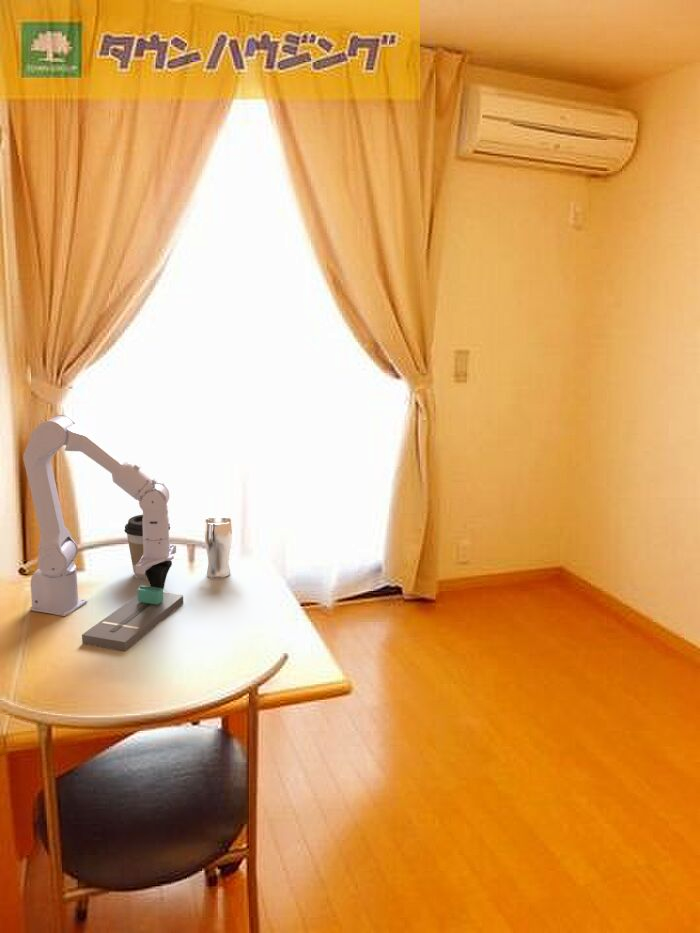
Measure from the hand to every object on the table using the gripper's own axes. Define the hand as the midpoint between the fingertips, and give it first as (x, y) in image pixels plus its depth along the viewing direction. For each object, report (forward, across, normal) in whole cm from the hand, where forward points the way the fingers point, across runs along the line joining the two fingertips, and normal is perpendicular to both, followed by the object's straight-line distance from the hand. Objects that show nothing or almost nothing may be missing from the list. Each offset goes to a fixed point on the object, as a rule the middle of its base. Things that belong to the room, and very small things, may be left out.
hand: (157, 591), depth 153 cm
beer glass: (+4, +22, -5) cm, 23 cm away
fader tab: (+1, -3, 0) cm, 3 cm away
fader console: (+3, -9, 0) cm, 10 cm away
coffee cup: (+4, +16, +12) cm, 20 cm away
